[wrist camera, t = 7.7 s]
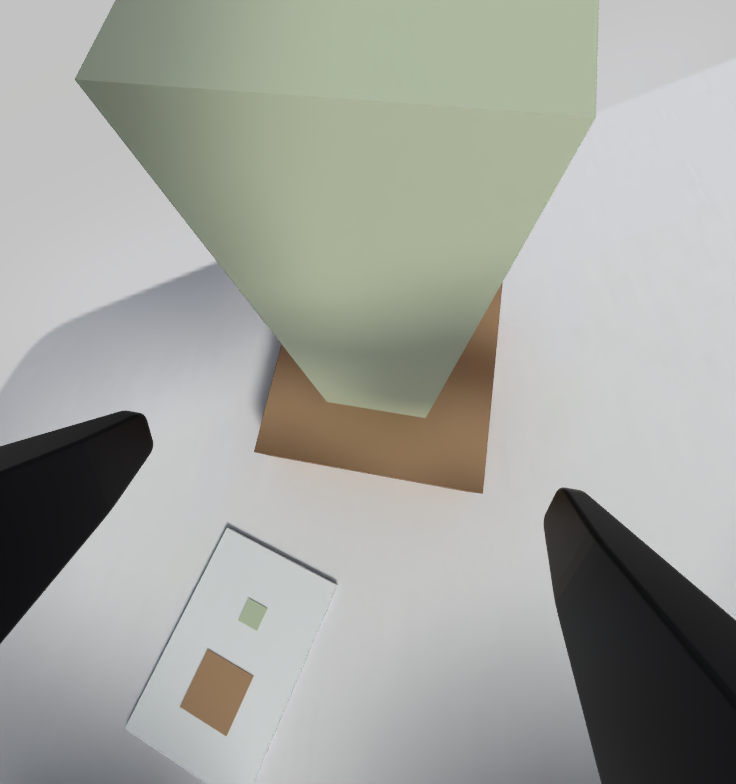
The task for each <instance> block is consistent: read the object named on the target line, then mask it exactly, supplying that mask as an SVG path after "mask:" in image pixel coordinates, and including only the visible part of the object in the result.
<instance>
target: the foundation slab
mask: <svg viewBox="0 0 736 784" xmlns="http://www.w3.org/2000/svg"><path fill="white" fill-rule="evenodd" d="M501 293H502V284H501V285H500V287H499V289H498V291H497V293H496V294H495V296H494V298H493V300H492V301H491V303H490V305H489V307H488V308H487V310H486V312H485V314H484V316H483V317H482V319H481V321H480V323H479V324H478V326H477V328H476V330H475V331H474V333H473V335H472V337H471V339H470V340H469V342H468V344H467V346H466V347H465V349H464V351H463V353H462V354H461V356H460V358H459V360H458V362H457V363H456V365H455V367H454V369H453V370H452V372H451V374H450V376H449V377H448V379H447V381H446V383H445V385H444V386H443V388H442V390H441V392H440V393H439V395H438V397H437V399H436V400H435V402H434V404H433V406H432V408H431V409H430V411H429V413H428V415H427V416H426V418H421V417H415V416H409V415H403V414H397V413H391V412H385V411H379V410H373V409H367V408H360V407H354V406H348V405H342V404H336V403H330V402H326V400H325V399H324V398H323V396H322V395H321V394H320V393H319V391H318V390H317V389H316V388H315V386H314V385H313V384H312V382H311V381H310V380H309V379H308V377H307V376H306V375H305V373H304V372H303V371H302V370H301V368H300V367H299V366H298V364H297V363H296V362H295V361H294V359H293V358H292V357H291V356H290V354H289V353H288V352H287V350H286V349H285V348H284V347H283V345H281V349H280V353H279V356H278V360H277V364H276V368H275V372H274V376H273V380H272V384H271V388H270V392H269V395H268V399H267V403H266V407H265V411H264V415H263V419H262V423H261V427H260V431H259V435H258V438H257V442H256V446H255V450H254V452H257V453H261V454H266V455H270V456H275V457H281V458H286V459H291V460H297V461H302V462H308V463H313V464H319V465H324V466H330V467H335V468H341V469H346V470H352V471H357V472H363V473H368V474H374V475H379V476H385V477H390V478H395V479H401V480H406V481H412V482H417V483H423V484H428V485H434V486H439V487H445V488H450V489H456V490H461V491H467V492H473V493H482V494H483V485H484V474H485V464H486V453H487V442H488V432H489V421H490V410H491V400H492V389H493V378H494V368H495V357H496V346H497V335H498V325H499V314H500V303H501Z"/></svg>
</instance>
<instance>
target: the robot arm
mask: <svg viewBox="0 0 736 784" xmlns="http://www.w3.org/2000/svg"><path fill="white" fill-rule="evenodd" d="M152 448H153V440H152V436H151V433H150V429H149V426H148V422H147V419H146V417H145V416H144V415H143V414H141V413H137V412H132V411H120V412H117V413H113V414H110V415H106V416H103V417H100V418H96V419H93V420H89V421H86V422H82V423H79V424H76V425H72V426H69V427H65V428H62V429H58V430H55V431H52V432H48V433H45V434H41V435H38V436H34V437H31V438H28V439H24V440H21V441H17V442H14V443H10V444H7V445H4V446H0V644H1V642H2V641H3V640H4V639H5V638H6V636H7V635H8V634H9V633H10V632H11V630H12V629H13V628H14V627H15V626H16V624H17V623H18V622H19V621H20V620H21V618H22V617H23V616H24V615H25V614H26V612H27V611H28V610H29V609H30V608H31V606H32V605H33V604H34V603H35V602H36V600H37V599H38V598H39V597H40V596H41V594H42V593H43V592H44V591H45V590H46V588H47V587H48V586H49V585H50V583H51V582H52V581H53V580H54V579H55V577H56V576H57V575H58V574H59V573H60V571H61V570H62V569H63V568H64V567H65V565H66V564H67V563H68V562H69V561H70V559H71V558H72V557H73V556H74V555H75V553H76V552H77V551H78V550H79V549H80V547H81V546H82V545H83V544H84V543H85V541H86V540H87V539H88V538H89V537H90V535H91V534H92V533H93V532H94V531H95V529H96V528H97V527H98V526H99V525H100V523H101V522H102V521H103V520H104V518H105V517H106V516H107V515H108V513H109V512H110V511H111V509H112V508H113V507H114V505H115V504H116V503H117V501H118V500H119V498H120V497H121V495H122V494H123V492H124V491H125V490H126V488H127V487H128V485H129V484H130V482H131V481H132V479H133V478H134V477H135V475H136V474H137V472H138V471H139V469H140V468H141V466H142V465H143V463H144V462H145V461H146V459H147V458H148V456H149V455H150V453H151V451H152ZM544 531H545V538H546V545H547V552H548V559H549V565H550V572H551V579H552V586H553V592H554V598H555V604H556V608H557V612H558V617H559V621H560V624H561V628H562V632H563V636H564V640H565V644H566V648H567V652H568V656H569V659H570V663H571V667H572V671H573V675H574V679H575V683H576V687H577V691H578V694H579V698H580V702H581V706H582V710H583V714H584V718H585V722H586V726H587V729H588V733H589V737H590V741H591V745H592V749H593V753H594V757H595V760H596V764H597V768H598V772H599V776H600V780H601V784H736V620H735V619H734V618H732V617H731V616H730V615H729V614H728V613H726V612H725V611H724V610H723V609H722V608H721V607H719V606H718V605H717V604H716V603H715V602H714V601H712V600H711V599H710V598H709V597H708V596H706V595H705V594H704V593H703V592H702V591H701V590H699V589H698V588H697V587H696V586H695V585H693V584H692V583H691V582H690V581H689V580H688V579H686V578H685V577H684V576H683V575H682V574H681V573H679V572H678V571H677V570H676V569H675V568H673V567H672V566H671V565H670V564H669V563H668V562H666V561H665V560H664V559H663V558H662V557H660V556H659V555H658V554H657V553H656V552H655V551H653V550H652V549H651V548H650V547H649V546H648V545H646V544H645V543H644V542H643V541H642V540H640V539H639V538H638V537H637V536H636V535H635V534H633V533H632V532H631V531H630V530H629V529H628V528H626V527H625V526H624V525H623V524H622V523H620V522H619V521H618V520H617V519H616V518H615V517H613V516H612V515H611V514H610V513H609V512H607V511H606V510H605V509H604V508H603V507H602V506H600V505H599V504H598V503H597V502H596V501H595V500H593V499H592V498H591V497H590V496H589V495H587V494H586V493H585V492H583V491H581V490H576V489H570V488H560V489H559V490H558V491H557V492H556V494H555V496H554V498H553V500H552V502H551V504H550V506H549V508H548V510H547V512H546V514H545V517H544Z"/></svg>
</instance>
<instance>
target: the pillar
mask: <svg viewBox="0 0 736 784" xmlns="http://www.w3.org/2000/svg"><path fill="white" fill-rule="evenodd" d="M598 10H599V0H116V1H115V3H114V4H113V6H112V8H111V10H110V12H109V14H108V16H107V18H106V20H105V22H104V24H103V26H102V28H101V30H100V32H99V34H98V35H97V37H96V39H95V41H94V43H93V45H92V47H91V49H90V51H89V53H88V55H87V57H86V59H85V61H84V62H83V64H82V66H81V68H80V70H79V72H78V74H77V76H76V78H75V80H76V82H77V83H78V84H79V85H80V87H81V88H82V89H83V91H84V92H85V93H86V94H87V96H88V97H89V98H90V100H91V101H92V102H93V103H94V105H95V106H96V107H97V109H98V110H99V111H100V112H101V114H102V115H103V116H104V117H105V119H106V120H107V121H108V123H109V124H110V125H111V126H112V128H113V129H114V130H115V131H116V133H117V134H118V135H119V137H120V138H121V139H122V140H123V142H124V143H125V144H126V146H127V147H128V148H129V149H130V151H131V152H132V153H133V154H134V156H135V157H136V158H137V159H138V161H139V162H140V163H141V165H142V166H143V167H144V169H145V170H146V171H147V173H148V174H149V175H150V176H151V178H152V179H153V180H154V181H155V183H156V184H157V185H158V186H159V188H160V189H161V190H162V192H163V193H164V194H165V196H166V197H167V198H168V199H169V201H170V202H171V203H172V204H173V206H174V207H175V208H176V209H177V211H178V212H179V213H180V215H181V216H182V217H183V218H184V220H185V221H186V222H187V224H188V225H189V226H190V228H191V229H192V230H193V231H194V233H195V234H196V235H197V236H198V238H199V239H200V240H201V242H203V244H204V245H205V247H206V248H207V249H208V251H209V252H210V253H211V254H212V256H213V257H214V258H215V260H216V261H217V262H218V263H219V265H220V266H221V267H222V268H223V270H224V271H225V272H226V274H227V275H228V276H229V277H230V279H231V280H232V281H233V283H234V284H235V285H236V286H237V288H238V289H239V290H240V292H241V293H242V294H243V295H244V297H245V298H246V299H247V300H248V302H249V303H250V304H251V306H252V307H253V308H254V309H255V311H256V312H257V313H258V315H259V316H260V317H261V318H262V320H263V321H264V322H265V324H266V325H267V326H268V327H269V329H270V330H271V331H272V332H273V334H274V335H275V336H276V338H277V339H278V340H279V341H280V343H281V344H282V345H283V347H284V348H285V349H286V350H287V352H288V353H289V354H290V356H291V357H292V358H293V359H294V361H295V362H296V363H297V364H298V366H299V367H300V368H301V370H302V371H303V372H304V373H305V375H306V376H307V377H308V379H309V380H310V381H311V382H312V384H313V385H314V386H315V388H316V389H317V390H318V391H319V393H320V394H321V395H322V396H323V398H324V399H325V400H326V402H330V403H336V404H342V405H348V406H354V407H360V408H367V409H373V410H379V411H385V412H391V413H397V414H403V415H409V416H415V417H421V418H426V416H427V415H428V413H429V411H430V409H431V408H432V406H433V404H434V402H435V400H436V399H437V397H438V395H439V393H440V392H441V390H442V388H443V386H444V385H445V383H446V381H447V379H448V377H449V376H450V374H451V372H452V370H453V369H454V367H455V365H456V363H457V362H458V360H459V358H460V356H461V354H462V353H463V351H464V349H465V347H466V346H467V344H468V342H469V340H470V339H471V337H472V335H473V333H474V331H475V330H476V328H477V326H478V324H479V323H480V321H481V319H482V317H483V316H484V314H485V312H486V310H487V308H488V307H489V305H490V303H491V301H492V300H493V298H494V296H495V294H496V293H497V291H498V289H499V287H500V285H501V284H502V282H503V280H504V278H505V277H506V275H507V273H508V271H509V270H510V268H511V266H512V264H513V262H514V261H515V259H516V257H517V255H518V254H519V252H520V250H521V248H522V247H523V245H524V243H525V241H526V239H527V238H528V236H529V234H530V232H531V231H532V229H533V227H534V225H535V224H536V222H537V220H538V218H539V216H540V215H541V213H542V211H543V209H544V208H545V206H546V204H547V202H548V201H549V199H550V197H551V195H552V193H553V192H554V190H555V188H556V186H557V185H558V183H559V181H560V179H561V178H562V176H563V174H564V172H565V170H566V169H567V167H568V165H569V163H570V162H571V160H572V158H573V156H574V155H575V153H576V151H577V149H578V147H579V146H580V144H581V142H582V140H583V139H584V137H585V135H586V133H587V132H588V130H589V128H590V126H591V124H592V123H593V121H594V119H595V117H596V89H597V87H596V85H597V50H598V47H597V46H598Z"/></svg>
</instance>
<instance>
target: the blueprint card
mask: <svg viewBox="0 0 736 784" xmlns="http://www.w3.org/2000/svg"><path fill="white" fill-rule="evenodd" d="M336 587H337V584H335V583H333V582H332V581H330V580H328V579H326V578H324V577H322V576H320V575H318V574H316V573H314V572H312V571H311V570H309V569H307V568H305V567H303V566H301V565H299V564H297V563H295V562H293V561H291V560H290V559H288V558H286V557H284V556H282V555H280V554H278V553H276V552H274V551H272V550H270V549H269V548H267V547H265V546H263V545H261V544H259V543H257V542H255V541H253V540H251V539H249V538H248V537H246V536H244V535H242V534H240V533H238V532H236V531H234V530H232V529H230V528H226V530H225V532H224V534H223V536H222V538H221V540H220V542H219V544H218V546H217V548H216V550H215V552H214V554H213V556H212V558H211V560H210V562H209V564H208V566H207V568H206V570H205V572H204V574H203V575H202V577H201V579H200V581H199V583H198V585H197V587H196V589H195V591H194V593H193V595H192V597H191V599H190V601H189V603H188V605H187V607H186V609H185V611H184V613H183V615H182V617H181V619H180V621H179V623H178V625H177V627H176V629H175V631H174V633H173V635H172V636H171V638H170V640H169V642H168V644H167V646H166V648H165V650H164V652H163V654H162V656H161V658H160V660H159V662H158V664H157V666H156V668H155V670H154V672H153V674H152V676H151V678H150V680H149V682H148V684H147V686H146V688H145V690H144V692H143V694H142V695H141V697H140V699H139V701H138V703H137V705H136V707H135V709H134V711H133V713H132V715H131V717H130V719H129V721H128V723H127V725H126V727H125V730H126V731H128V732H129V733H131V734H132V735H134V736H135V737H137V738H138V739H140V740H141V741H143V742H144V743H146V744H147V745H149V746H150V747H152V748H153V749H155V750H156V751H158V752H159V753H161V754H162V755H164V756H165V757H167V758H168V759H170V760H171V761H173V762H174V763H176V764H177V765H179V766H180V767H182V768H183V769H185V770H186V771H188V772H189V773H191V774H192V775H194V776H195V777H197V778H198V779H200V780H201V781H203V782H204V783H206V784H253V782H254V780H255V778H256V775H257V773H258V771H259V768H260V766H261V763H262V761H263V759H264V756H265V754H266V752H267V749H268V747H269V745H270V742H271V740H272V738H273V735H274V733H275V730H276V728H277V726H278V723H279V721H280V719H281V716H282V714H283V712H284V709H285V707H286V705H287V702H288V700H289V698H290V695H291V693H292V690H293V688H294V686H295V683H296V681H297V679H298V676H299V674H300V672H301V669H302V667H303V665H304V662H305V660H306V657H307V655H308V653H309V650H310V648H311V646H312V643H313V641H314V639H315V636H316V634H317V632H318V629H319V627H320V624H321V622H322V620H323V617H324V615H325V613H326V610H327V608H328V606H329V603H330V601H331V599H332V596H333V594H334V592H335V589H336Z"/></svg>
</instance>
